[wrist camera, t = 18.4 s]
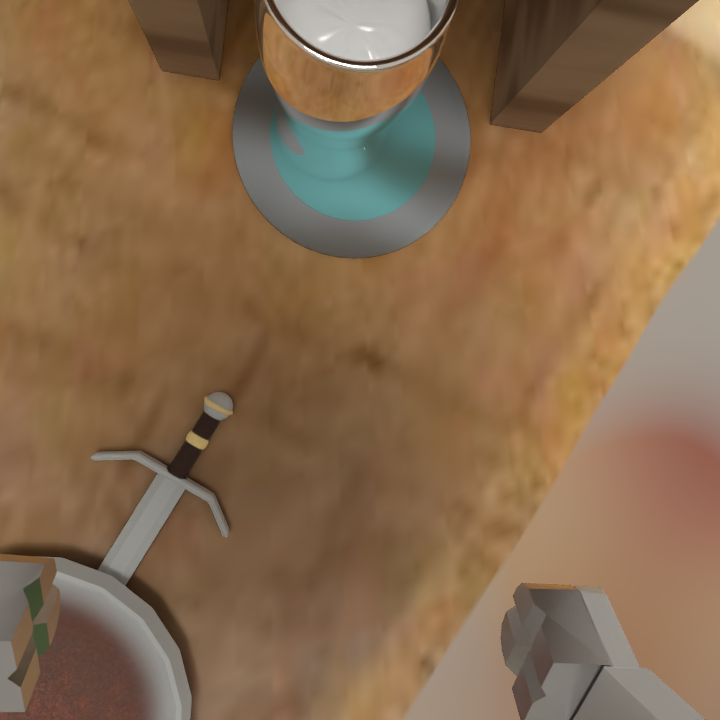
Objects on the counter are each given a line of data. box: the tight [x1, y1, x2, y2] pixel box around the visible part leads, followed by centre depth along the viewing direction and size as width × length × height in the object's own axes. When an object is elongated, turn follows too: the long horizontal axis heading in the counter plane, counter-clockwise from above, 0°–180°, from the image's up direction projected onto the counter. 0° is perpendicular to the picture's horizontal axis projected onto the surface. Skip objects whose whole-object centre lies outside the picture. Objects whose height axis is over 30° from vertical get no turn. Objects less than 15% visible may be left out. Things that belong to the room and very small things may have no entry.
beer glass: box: [255, 0, 459, 180], centre depth 28 cm, size 7×7×15 cm
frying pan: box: [0, 392, 233, 720], centre depth 34 cm, size 17×3×28 cm
